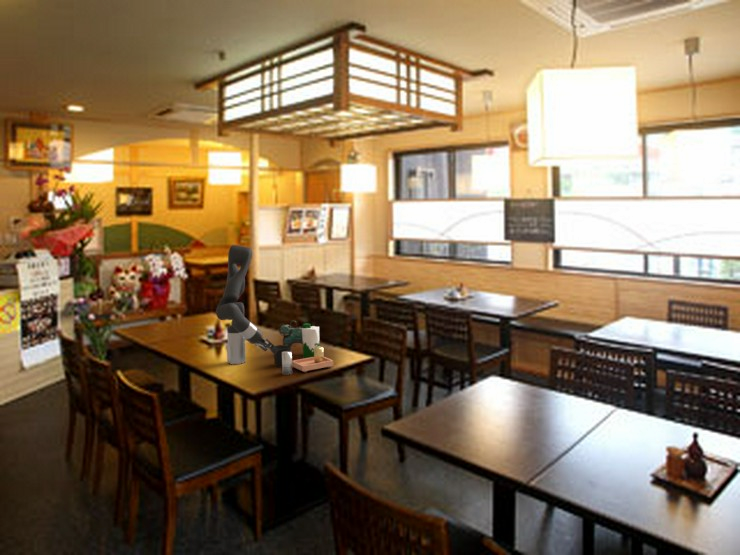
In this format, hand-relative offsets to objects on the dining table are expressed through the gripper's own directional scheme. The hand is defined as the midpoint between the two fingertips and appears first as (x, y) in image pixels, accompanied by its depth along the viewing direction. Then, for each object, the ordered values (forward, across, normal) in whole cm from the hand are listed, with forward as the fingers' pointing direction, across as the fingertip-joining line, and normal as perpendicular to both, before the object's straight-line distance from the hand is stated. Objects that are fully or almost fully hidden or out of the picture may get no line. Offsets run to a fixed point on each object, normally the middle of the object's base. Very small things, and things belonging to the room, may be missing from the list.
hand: (271, 351), depth 267 cm
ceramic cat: (+35, +28, -16) cm, 48 cm away
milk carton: (+34, +13, -15) cm, 39 cm away
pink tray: (+26, -2, -8) cm, 28 cm away
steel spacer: (+16, 0, +3) cm, 16 cm away
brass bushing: (+28, -2, -12) cm, 30 cm away
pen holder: (+22, +15, -2) cm, 26 cm away
